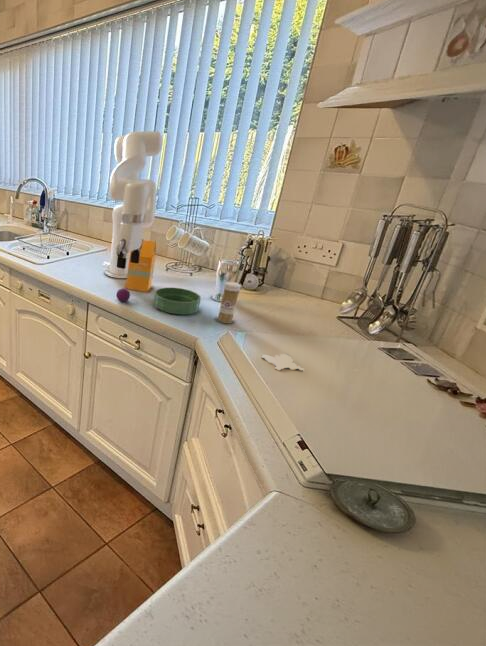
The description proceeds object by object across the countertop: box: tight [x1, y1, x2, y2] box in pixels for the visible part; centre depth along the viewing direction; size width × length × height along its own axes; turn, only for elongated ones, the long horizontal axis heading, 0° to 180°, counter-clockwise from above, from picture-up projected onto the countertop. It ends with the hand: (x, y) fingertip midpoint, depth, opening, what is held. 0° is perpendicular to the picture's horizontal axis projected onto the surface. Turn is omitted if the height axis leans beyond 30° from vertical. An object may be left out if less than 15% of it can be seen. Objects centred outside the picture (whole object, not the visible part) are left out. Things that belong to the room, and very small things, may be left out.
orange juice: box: [125, 240, 157, 293], centre depth 161 cm, size 8×9×20 cm
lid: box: [329, 479, 417, 534], centre depth 65 cm, size 11×10×5 cm
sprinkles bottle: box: [217, 281, 242, 324], centre depth 131 cm, size 5×5×14 cm
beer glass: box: [212, 258, 240, 303], centre depth 149 cm, size 7×7×15 cm
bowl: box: [153, 287, 202, 315], centre depth 144 cm, size 15×15×5 cm
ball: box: [115, 288, 131, 303], centre depth 150 cm, size 5×5×5 cm
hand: (127, 265), depth 146 cm, fingers open, 9 cm apart
